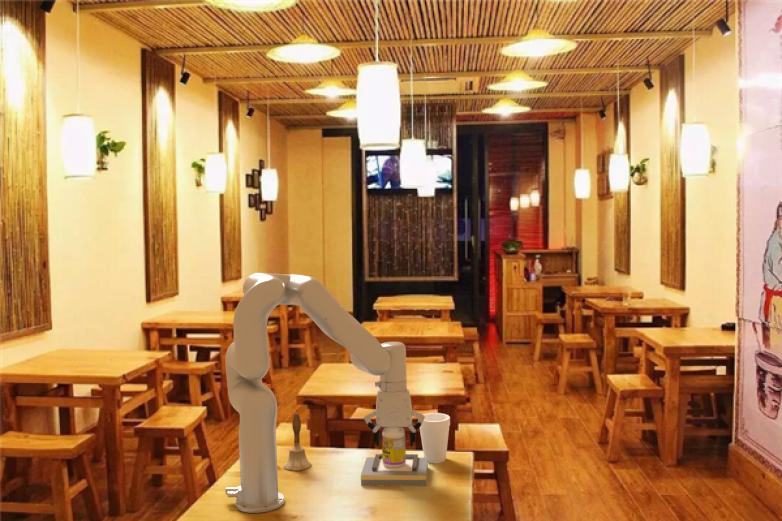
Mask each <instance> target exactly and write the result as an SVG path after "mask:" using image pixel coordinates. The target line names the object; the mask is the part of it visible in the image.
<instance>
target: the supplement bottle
mask: <svg viewBox="0 0 782 521" xmlns="http://www.w3.org/2000/svg"><path fill="white" fill-rule="evenodd" d="M381 446H382V447H381V448H382V449H381V451H382V453H381V454H382V459H383V465H384V466H386V467H389V468H398V467H402V466H404V465H405V463H406V432H405V429H404V428H403V427H384V429H383V430H382V432H381Z"/></svg>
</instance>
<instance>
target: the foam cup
mask: <svg viewBox="0 0 782 521" xmlns="http://www.w3.org/2000/svg"><path fill="white" fill-rule="evenodd" d="M422 415H424V416H425V418H424V421H423V423H422V424H421V426H420V427H419V432H420V433H419V434H420V438H421V446H422V453H423V458H428V463H431V464H440V463H443V462H445V461H446V460H447V450H448V443H449V441H448V440H449V430H450V426H451V416H449V414H446V413H441V412H429V413H423V414H422ZM417 419H418V418H417ZM418 420H419V419H418ZM418 420H417V421H418Z"/></svg>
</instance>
